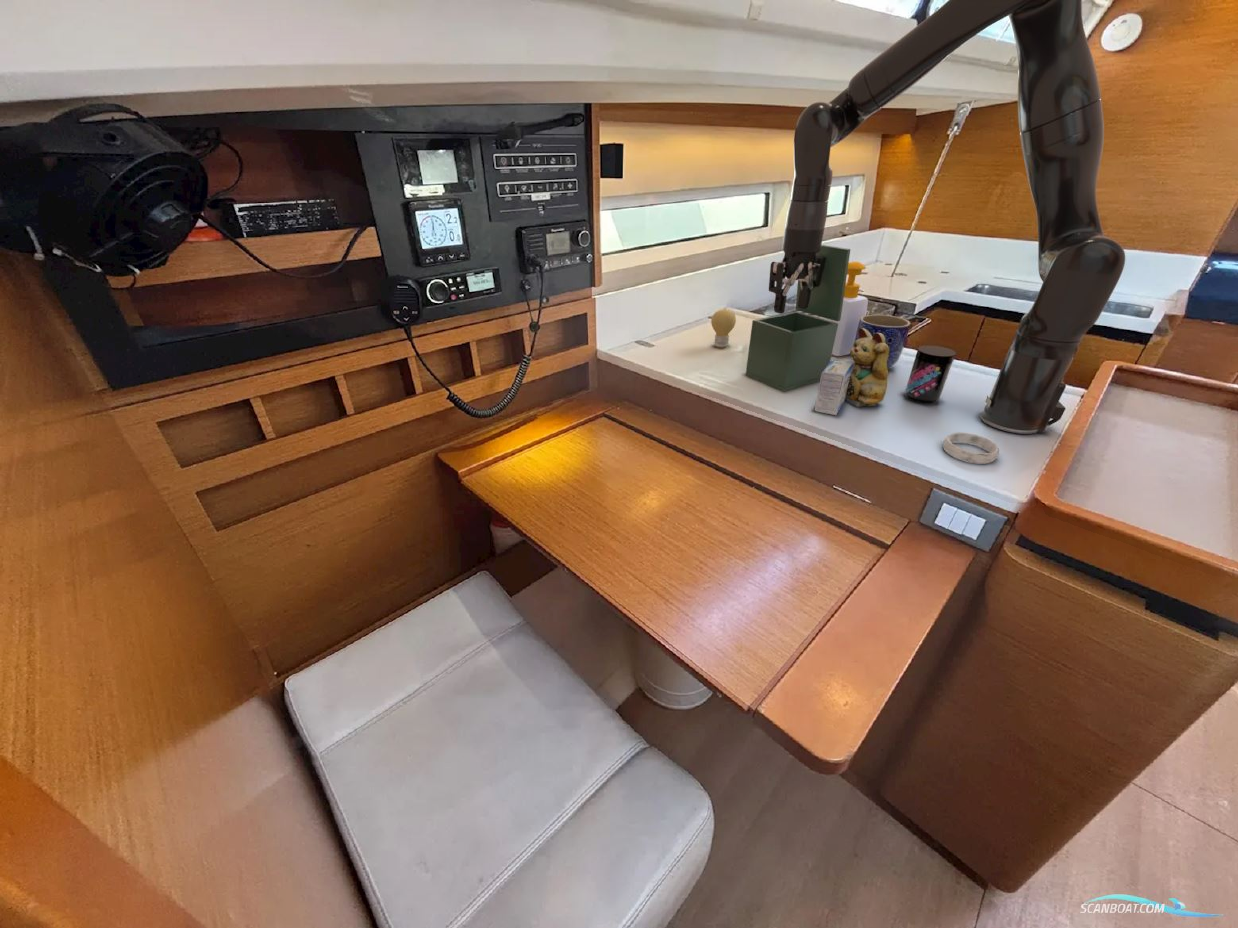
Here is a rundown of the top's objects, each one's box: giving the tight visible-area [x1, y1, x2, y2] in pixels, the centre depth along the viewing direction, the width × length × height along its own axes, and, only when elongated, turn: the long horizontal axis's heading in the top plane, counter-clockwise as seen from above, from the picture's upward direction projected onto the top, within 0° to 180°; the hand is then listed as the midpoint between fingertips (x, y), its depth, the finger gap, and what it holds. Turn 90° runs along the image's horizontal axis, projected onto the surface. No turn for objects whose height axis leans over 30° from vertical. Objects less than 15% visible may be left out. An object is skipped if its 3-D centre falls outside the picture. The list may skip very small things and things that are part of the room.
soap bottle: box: [819, 261, 869, 357], centre depth 129 cm, size 10×14×22 cm
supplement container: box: [904, 345, 957, 405], centre depth 103 cm, size 7×7×10 cm
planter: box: [854, 314, 911, 370], centre depth 120 cm, size 11×11×11 cm
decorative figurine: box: [845, 328, 889, 408], centre depth 101 cm, size 10×8×15 cm
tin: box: [745, 310, 838, 392], centre depth 114 cm, size 14×12×13 cm
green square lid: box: [794, 244, 851, 321], centre depth 109 cm, size 15×12×1 cm
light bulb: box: [710, 308, 737, 349], centre depth 134 cm, size 6×6×10 cm
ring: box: [942, 432, 1000, 465], centre depth 86 cm, size 8×8×2 cm
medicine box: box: [814, 359, 853, 416], centre depth 101 cm, size 8×4×9 cm, turn 148°
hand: (790, 310), depth 108 cm, fingers open, 6 cm apart
